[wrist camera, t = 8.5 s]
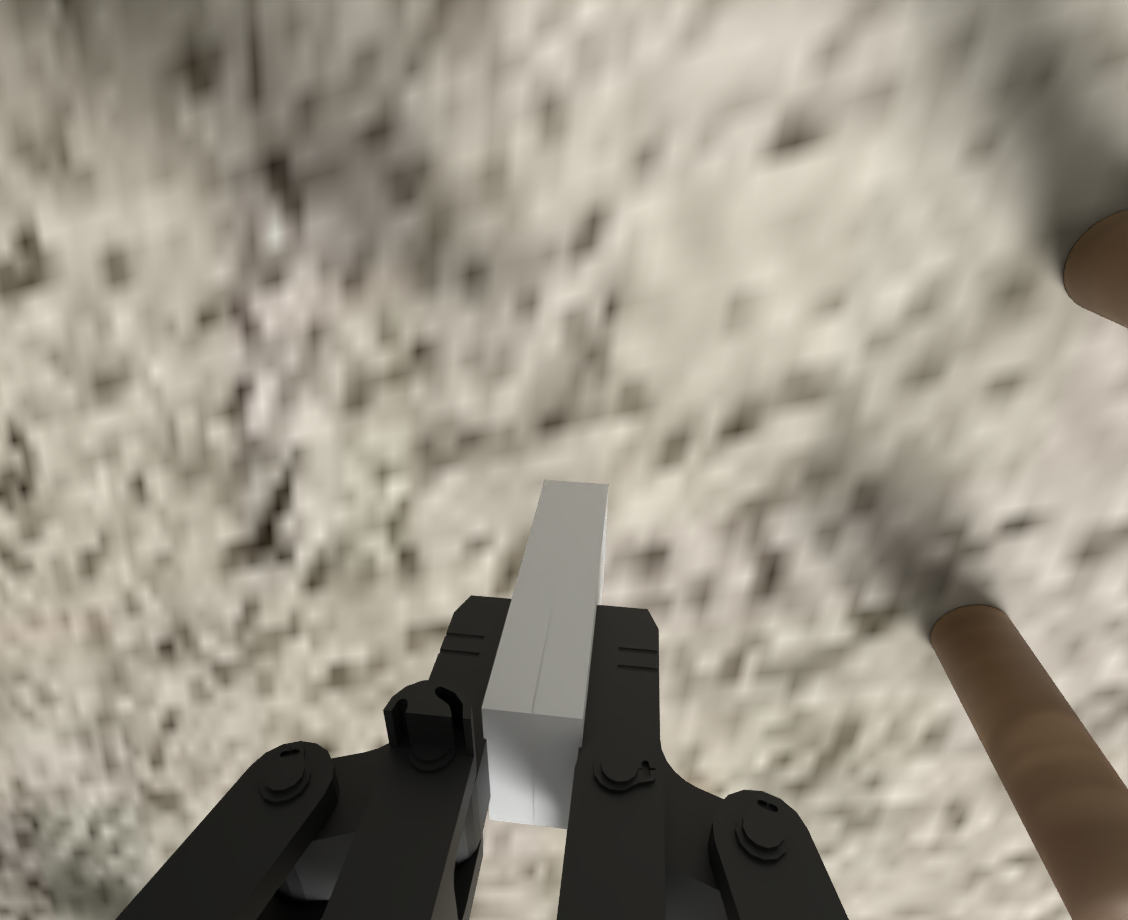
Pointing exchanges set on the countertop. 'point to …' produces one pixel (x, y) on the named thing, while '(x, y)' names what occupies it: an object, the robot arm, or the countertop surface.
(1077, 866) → the post far
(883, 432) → the countertop surface
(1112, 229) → the post near
